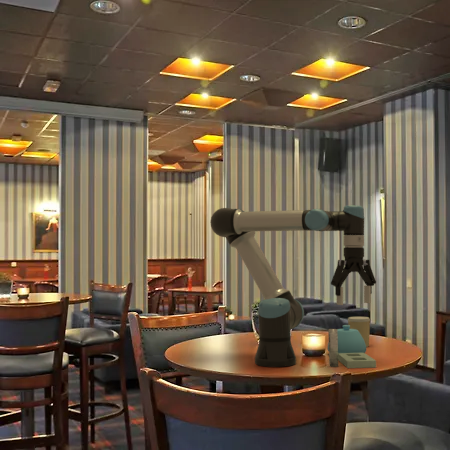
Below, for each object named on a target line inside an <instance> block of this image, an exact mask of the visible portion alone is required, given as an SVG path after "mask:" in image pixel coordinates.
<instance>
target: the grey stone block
mask: <svg viewBox="0 0 450 450" xmlns="http://www.w3.org/2000/svg"><path fill="white" fill-rule="evenodd" d="M337 329H338V328H337ZM337 329H336V328H329V329H327V330H328V331H327V332H328V336H327V337H328V342H329V351H328V365H329V367H330V368H338V367H339V360H338V334H337Z"/></svg>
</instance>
